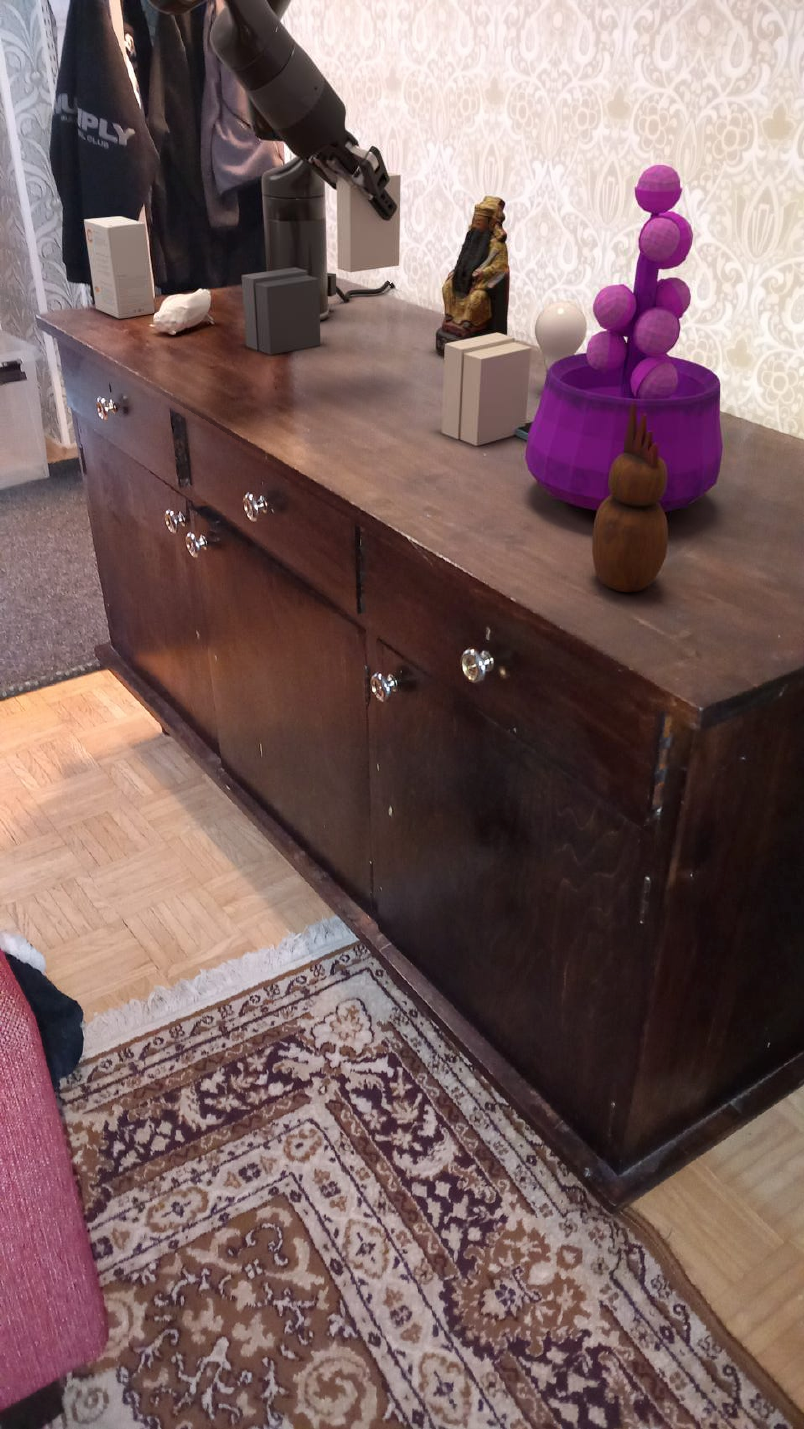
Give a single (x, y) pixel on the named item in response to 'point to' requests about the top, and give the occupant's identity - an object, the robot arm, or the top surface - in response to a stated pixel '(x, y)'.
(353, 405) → the top surface
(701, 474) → the decorative plant
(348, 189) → the white book
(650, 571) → the wooden figurine
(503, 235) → the statue
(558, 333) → the lightbulb
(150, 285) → the small box
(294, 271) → the grey books
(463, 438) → the white books
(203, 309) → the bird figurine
